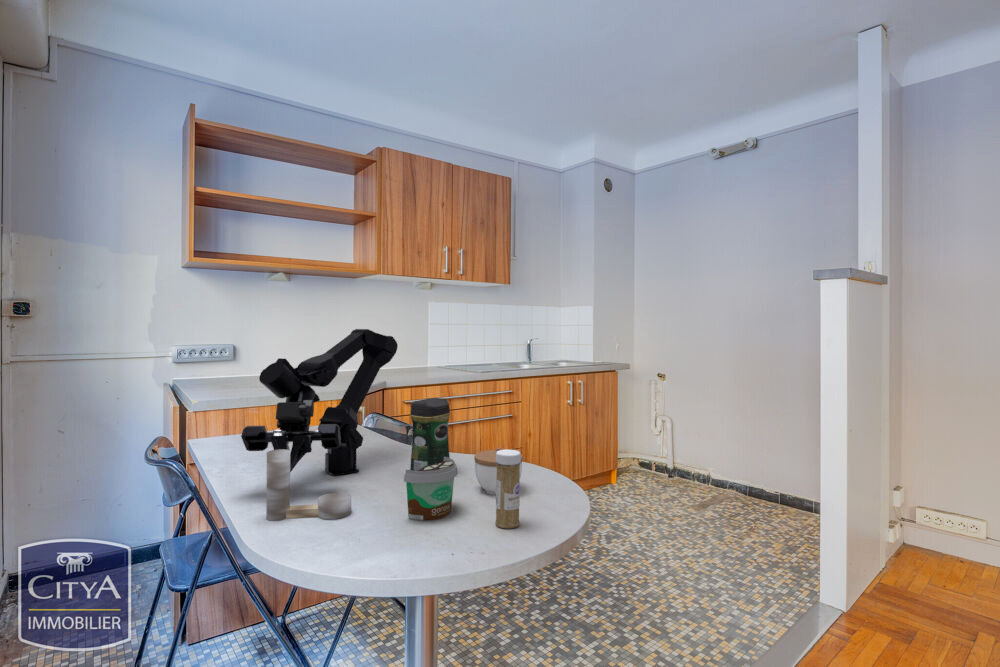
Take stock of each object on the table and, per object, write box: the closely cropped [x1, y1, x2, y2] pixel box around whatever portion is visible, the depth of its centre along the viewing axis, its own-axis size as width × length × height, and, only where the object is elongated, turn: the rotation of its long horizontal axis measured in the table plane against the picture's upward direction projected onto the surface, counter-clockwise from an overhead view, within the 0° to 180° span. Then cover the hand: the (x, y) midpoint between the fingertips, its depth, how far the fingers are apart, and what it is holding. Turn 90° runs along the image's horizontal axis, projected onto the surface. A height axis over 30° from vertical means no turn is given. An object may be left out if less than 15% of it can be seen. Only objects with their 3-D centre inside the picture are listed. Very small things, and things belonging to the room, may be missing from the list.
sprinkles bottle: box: [494, 449, 522, 530], centre depth 94 cm, size 5×5×14 cm
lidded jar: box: [473, 447, 524, 495], centre depth 113 cm, size 11×11×9 cm
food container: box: [403, 457, 459, 522], centre depth 96 cm, size 12×6×10 cm, turn 148°
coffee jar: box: [409, 397, 451, 471], centre depth 124 cm, size 10×8×19 cm
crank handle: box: [265, 449, 352, 522], centre depth 95 cm, size 15×6×12 cm, turn 101°
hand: (286, 474), depth 101 cm, fingers closed
